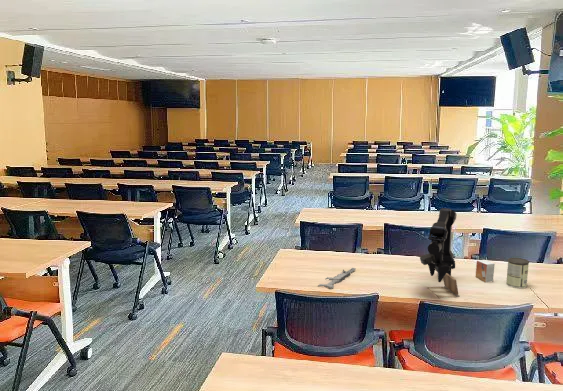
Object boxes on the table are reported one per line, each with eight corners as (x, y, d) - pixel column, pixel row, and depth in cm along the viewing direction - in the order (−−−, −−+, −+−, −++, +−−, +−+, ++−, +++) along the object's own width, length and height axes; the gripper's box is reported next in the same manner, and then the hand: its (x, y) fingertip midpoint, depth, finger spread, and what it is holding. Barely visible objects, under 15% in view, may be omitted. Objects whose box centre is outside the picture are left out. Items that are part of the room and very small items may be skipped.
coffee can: (507, 280, 273) (509, 256, 271) (527, 284, 268) (529, 259, 266) (504, 286, 265) (506, 261, 262) (525, 289, 259) (528, 264, 257)
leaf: (447, 288, 261) (444, 288, 260) (444, 270, 259) (441, 271, 259) (459, 297, 247) (456, 298, 247) (456, 279, 245) (453, 280, 245)
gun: (343, 264, 294) (358, 265, 288) (343, 269, 294) (359, 271, 289) (314, 282, 264) (331, 283, 258) (315, 288, 264) (332, 290, 259)
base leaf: (427, 289, 259) (427, 286, 259) (447, 288, 261) (447, 285, 260) (438, 299, 246) (439, 295, 245) (459, 298, 247) (459, 295, 247)
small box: (475, 278, 277) (476, 260, 276) (482, 277, 279) (484, 259, 277) (485, 282, 270) (486, 264, 268) (493, 281, 272) (494, 263, 270)
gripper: (415, 245, 257) (413, 273, 260) (429, 255, 239) (428, 285, 241) (435, 244, 258) (433, 272, 261) (451, 254, 240) (449, 285, 243)
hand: (435, 278), depth 251 cm, fingers open, 9 cm apart
